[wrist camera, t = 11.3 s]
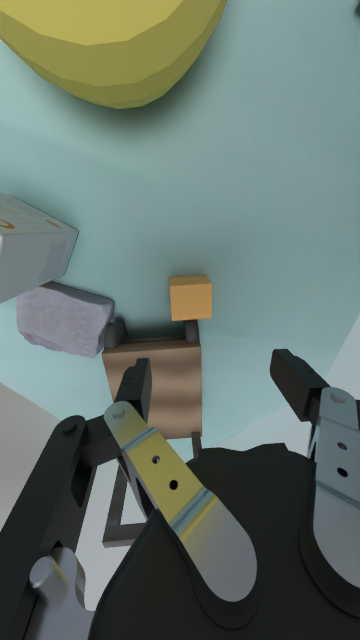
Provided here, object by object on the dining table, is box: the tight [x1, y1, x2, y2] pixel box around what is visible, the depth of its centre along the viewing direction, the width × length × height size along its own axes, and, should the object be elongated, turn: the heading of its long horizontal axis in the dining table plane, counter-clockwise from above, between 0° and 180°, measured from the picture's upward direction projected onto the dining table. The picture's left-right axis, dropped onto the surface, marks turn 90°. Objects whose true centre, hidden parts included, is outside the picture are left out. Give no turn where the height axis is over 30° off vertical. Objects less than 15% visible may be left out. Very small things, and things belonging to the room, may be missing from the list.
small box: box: [0, 194, 78, 303], centre depth 19 cm, size 8×6×13 cm
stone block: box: [16, 281, 114, 358], centre depth 29 cm, size 12×5×10 cm
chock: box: [169, 275, 212, 321], centre depth 27 cm, size 5×4×5 cm
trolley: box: [102, 319, 202, 548], centre depth 26 cm, size 20×12×18 cm, turn 3°
